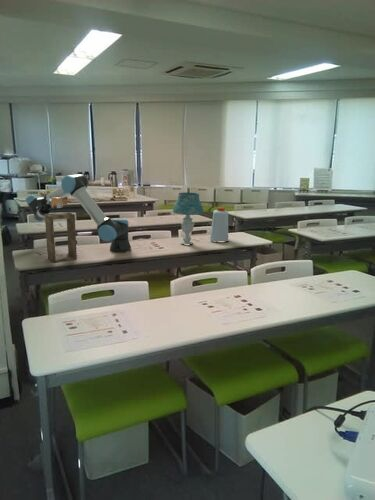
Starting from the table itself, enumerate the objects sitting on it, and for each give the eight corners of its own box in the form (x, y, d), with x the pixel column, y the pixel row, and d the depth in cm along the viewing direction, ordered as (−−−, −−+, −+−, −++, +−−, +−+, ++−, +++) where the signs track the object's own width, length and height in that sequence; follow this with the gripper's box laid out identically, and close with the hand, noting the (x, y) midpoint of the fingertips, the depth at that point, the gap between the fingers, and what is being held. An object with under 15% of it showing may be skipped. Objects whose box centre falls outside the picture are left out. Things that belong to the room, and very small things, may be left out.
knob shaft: (53, 202, 254) (52, 193, 252) (64, 207, 237) (64, 198, 235) (42, 203, 250) (42, 194, 248) (53, 208, 233) (53, 199, 231)
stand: (71, 254, 254) (69, 212, 246) (76, 258, 246) (74, 214, 238) (47, 258, 245) (44, 214, 236) (52, 262, 237) (49, 216, 229)
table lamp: (207, 245, 291) (210, 195, 279) (182, 249, 278) (184, 196, 267) (190, 238, 310) (192, 191, 298) (166, 242, 297) (167, 192, 285)
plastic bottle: (209, 242, 301) (211, 208, 293) (210, 238, 315) (212, 205, 308) (228, 243, 300) (230, 209, 292) (228, 239, 314) (230, 206, 306)
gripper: (56, 214, 267) (65, 203, 248) (33, 216, 257) (40, 204, 239) (53, 205, 268) (62, 192, 249) (30, 206, 258) (38, 193, 240)
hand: (51, 198), depth 244 cm, fingers closed on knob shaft, 3 cm apart
